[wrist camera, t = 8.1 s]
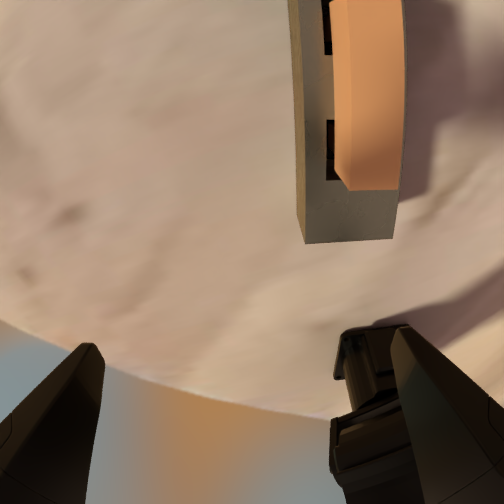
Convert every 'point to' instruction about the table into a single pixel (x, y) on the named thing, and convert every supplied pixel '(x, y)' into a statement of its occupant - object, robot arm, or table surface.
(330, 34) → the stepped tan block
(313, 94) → the rail
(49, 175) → the table surface
